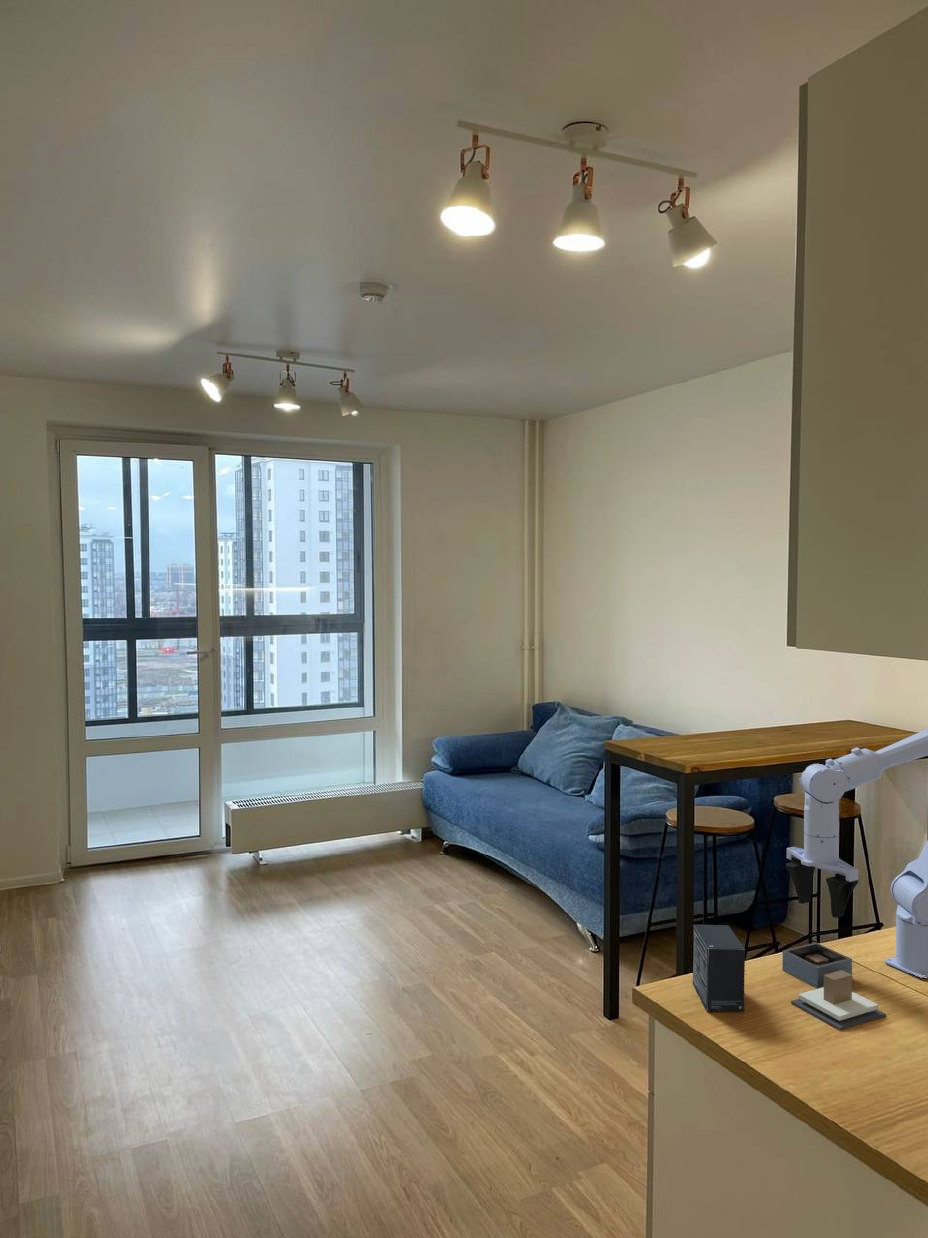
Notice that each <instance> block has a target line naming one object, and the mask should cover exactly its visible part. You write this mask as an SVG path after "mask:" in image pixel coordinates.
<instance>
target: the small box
mask: <svg viewBox="0 0 928 1238" xmlns="http://www.w3.org/2000/svg"><path fill="white" fill-rule="evenodd" d="M692 929H693V954H692V955H693V956H692V957H693V961H692V962H693V963H692V964H693V965H692V985H693V987H694V989H695V991H696V993H697V995H698V997H699V999H700V1002H701V1003H702V1005H703V1007H704V1010H705V1011H706V1012H731V1013H733V1012H736V1013H737V1012H741V1013H742V1012H743V1013H744V1012H745V977H746V976H745V967H746V966H745V965H746V964H745V963H746V962H745V961H746V959H745V958H746V948H745V947H744V945H743V944H742V943H741V941H740V940H739V939H738V937H737V936H736V934H735V933H734V932H733V930H732V929H731V927H730V926H729V925H728V924H727V925H724V924H721V925H720V924H719V925H718V924H717V925H716V924H693V928H692Z"/></svg>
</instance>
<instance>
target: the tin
mask: <svg viewBox="0 0 928 1238" xmlns="http://www.w3.org/2000/svg"><path fill="white" fill-rule="evenodd" d="M781 967H782V968H781V969H782V971H783V972H784V973H787V974H789V975H791V976H792V977H795V978H796V979H799V980H800V981H802V982H803V983H804V982H805V983H806V984H808V985H810V986H813V987H814V988H816V989H819V988H822V987H824V975H826V974H830V973H833V972H837V971H841V970H843V971H845V972H847V973H849V974H851V975H852V976H853V959H852V958H851V957H849V956H847V955H844V954H842V953H840V952H838V951H836V950H834V949H831V948H830V947H828V946H825V945H823V944H821V943H818V942H813V943H808V944H805V945H800V946H796V947H792V948H788V949H784V950H782V964H781Z"/></svg>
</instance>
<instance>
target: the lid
mask: <svg viewBox="0 0 928 1238" xmlns="http://www.w3.org/2000/svg"><path fill="white" fill-rule="evenodd" d="M797 995H798V996H797V997H798V998H797V999H800V1000H802V1001H804V1002H806V1003H808V1004H809V1005H811V1006H813V1007H815V1008H817V1009H819V1010H821V1011H822V1012H824V1013H826V1014H828V1015H830V1016H832V1017H833V1018H835V1019H837V1020H839V1021H841V1020H844V1019H847V1018H850V1017H854V1016H857V1015H860V1014H864V1013H867V1012H870V1011H874V1010H879V1004H878V1003H877V1002H873V1001H872V1000H869V999H867V998H865V997H863V996H862V995H860V994H857V993H856V992H853V974H852V975H851V974H849V973H847V972H845V971H843V970H841V971H837V972H833V973H830V974H826V975H824V987H821V988H816V989H812V990H809V991H806V992H801V993H798V994H797Z"/></svg>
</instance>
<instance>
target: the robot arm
mask: <svg viewBox="0 0 928 1238" xmlns="http://www.w3.org/2000/svg"><path fill="white" fill-rule="evenodd" d="M850 752H851V753H849V754H846V755H842V756H841V757H838V758H835V759H832V758H829V759H826V760H825V765H824V764H820V763H813V764H809V765H808V766H806V768H805V770H803V771H802V773H801V777H799V778H798V779H799V780H798V781H799V782H798V783H799V785H800V787H801V788H802V790H803V791H804V806H803V807H804V809H803V811H804V812H803V819H804V820H803V827H804V828H803V848H801V847H797V846H791V847H787V848H786V859H788V860H790V862H787V863H785V869H786V870H787V872H788V873H789V875H790V877H791V879H792V882H793V885H794V888H795V892H796V896H797V899H798V903H799V904H801V905H802V904H807V903H810V902H811V899H812V885H813V878H814V873H815V870H816V869H819V870H822V871H824V872H827V873H830V874H833V875H834V876H831V877H826V878H825V881H826V882H825V883H826V884H827V888H828V891H829V895H830V911H831V912H830V913H831V916H832V918H835V919H838V918H841V917H844V916H845V912H846V909H847V906H848V902H849V900H850V897H851V895H852V893H853V890H854V889H855V888H856V886H857V885H858V884H859V868H857V867H855V866H852V865H850V864H849V863H847V862H846V861H844V860H842V859H841V858H840V856H839V854H840V853H839V850H840V849H839V848H840V847H839V844H840V835H839V832H840V825H839V824H840V809H839V808H840V807H839V803H840V801H839V800H841V798H842V797H843V796H844V793H845V792H846V793H847V792H848V791H849V792H850V791H851V790H854V789H856V788H859V787H862V786H865V785H867V784H870V783H872V782H875V781H878V780H880V779H881V778H882V777H883V776H882V775H883V773H884V772H885V770H887V769H890V768H893V767H897V766H900V765H902V764H906V763H908V762H913V761H914V760H918V759H921V758H924V757H928V727H926V728H925V729H924V730H921V731H919V732H918V733H917V732H916V733H915V734H913V735H910V736H908V737H906V738H904V739H901V740H899V741H896V742H893V743H892V744H889V745H887V746H885V747H883V748H881V749H878V750H876V751H874V750H871V749H869V748H859V747H853V748H852V749H851V750H850ZM890 894H891V896H892V899H893V901H895V903H897V906H896V907H897V909H896V913H895V914H896V920H895V921H896V922H895V933H896V934H895V957H889V958H886V959H884V963H885V964H886V965H889V966H891V967H894V968H896V969H898V970H900V971H903V972H905V973H907V974H909V973H911V974H913V975H915V976H914V977H916V976H918V977H921V978H925V977H928V839H927V841H926V842H925V844H924V846H923V849H922V850H921V853H920V854H919V856H918V858H917V859H915V860H912V861H911V862H909V863H908V864H907V865H906V867H905V869H903V871H902V872H901V873H900V874H899V875H897V876H896V877H894V879H893V880H892V881H891V884H890ZM911 974H910V975H911ZM913 975H912V976H913ZM923 975H925V976H923ZM918 977H917V978H918Z"/></svg>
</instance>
